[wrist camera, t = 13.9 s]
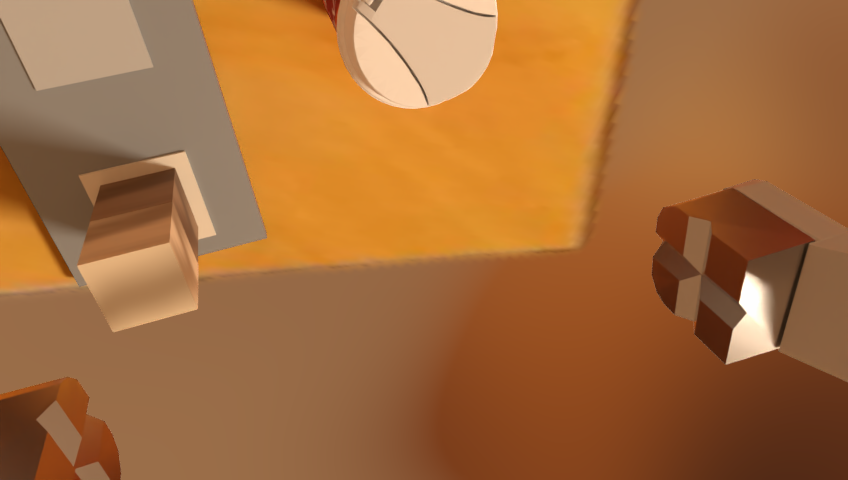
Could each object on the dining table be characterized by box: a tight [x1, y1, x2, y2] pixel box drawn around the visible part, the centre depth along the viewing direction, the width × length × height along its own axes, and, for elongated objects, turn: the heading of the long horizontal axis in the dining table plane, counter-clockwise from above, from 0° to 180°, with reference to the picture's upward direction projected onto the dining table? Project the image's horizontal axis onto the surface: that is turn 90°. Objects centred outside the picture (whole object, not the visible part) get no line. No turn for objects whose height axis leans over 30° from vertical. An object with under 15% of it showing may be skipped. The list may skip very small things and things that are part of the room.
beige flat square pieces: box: [0, 0, 267, 287], centre depth 41 cm, size 22×14×1 cm, turn 7°
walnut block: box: [90, 168, 198, 262], centre depth 42 cm, size 5×5×5 cm
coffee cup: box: [322, 0, 498, 109], centre depth 35 cm, size 8×8×15 cm
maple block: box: [77, 202, 198, 332], centre depth 38 cm, size 5×5×5 cm
